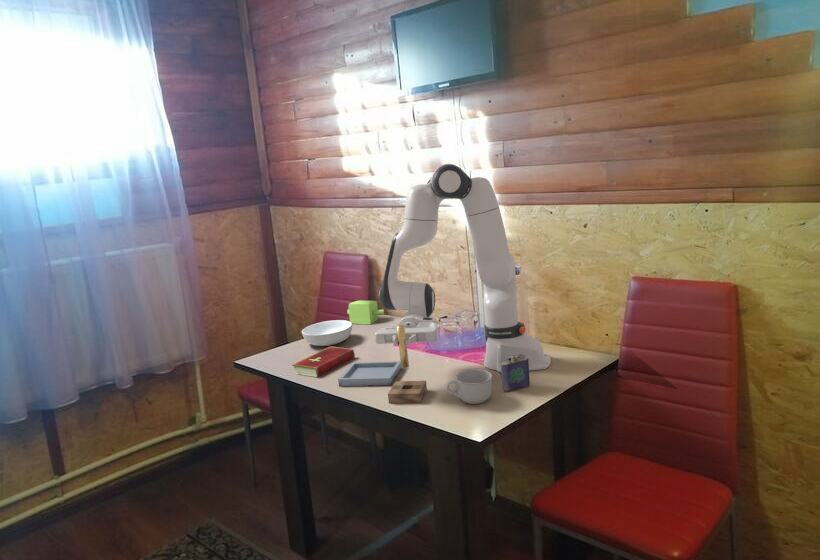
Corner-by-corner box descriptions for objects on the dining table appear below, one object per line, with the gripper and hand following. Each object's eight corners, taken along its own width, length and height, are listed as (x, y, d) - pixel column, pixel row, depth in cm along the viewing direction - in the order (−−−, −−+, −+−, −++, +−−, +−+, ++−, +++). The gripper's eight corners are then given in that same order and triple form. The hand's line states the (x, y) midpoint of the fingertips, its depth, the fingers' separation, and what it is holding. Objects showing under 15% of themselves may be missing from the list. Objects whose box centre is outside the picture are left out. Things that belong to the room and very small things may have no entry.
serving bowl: (333, 332, 272) (331, 317, 271) (364, 339, 257) (362, 323, 256) (294, 346, 258) (291, 330, 256) (324, 354, 243) (321, 337, 242)
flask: (505, 393, 187) (502, 359, 184) (500, 390, 189) (497, 356, 187) (531, 386, 189) (529, 353, 187) (526, 383, 192) (524, 350, 190)
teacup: (490, 391, 189) (488, 366, 188) (497, 405, 179) (494, 379, 177) (445, 396, 189) (442, 372, 187) (449, 411, 178) (446, 385, 177)
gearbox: (389, 319, 284) (387, 299, 283) (379, 325, 276) (377, 304, 274) (355, 318, 292) (353, 298, 290) (344, 323, 283) (342, 303, 282)
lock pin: (409, 365, 191) (405, 324, 188) (408, 367, 189) (403, 327, 186) (402, 365, 192) (397, 325, 189) (400, 368, 189) (395, 327, 187)
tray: (401, 367, 218) (401, 361, 217) (390, 385, 203) (389, 378, 202) (353, 369, 222) (352, 362, 222) (339, 386, 207) (338, 379, 206)
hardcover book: (355, 359, 234) (353, 348, 234) (317, 378, 218) (316, 367, 217) (331, 355, 241) (330, 345, 240) (293, 374, 225) (291, 363, 224)
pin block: (427, 389, 196) (426, 380, 195) (420, 402, 186) (419, 393, 186) (396, 390, 198) (395, 381, 198) (388, 402, 189) (387, 393, 188)
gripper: (379, 321, 203) (367, 334, 190) (440, 318, 198) (432, 331, 185) (381, 339, 204) (370, 353, 191) (442, 337, 199) (435, 351, 186)
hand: (401, 342), depth 188 cm, fingers closed on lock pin, 2 cm apart
